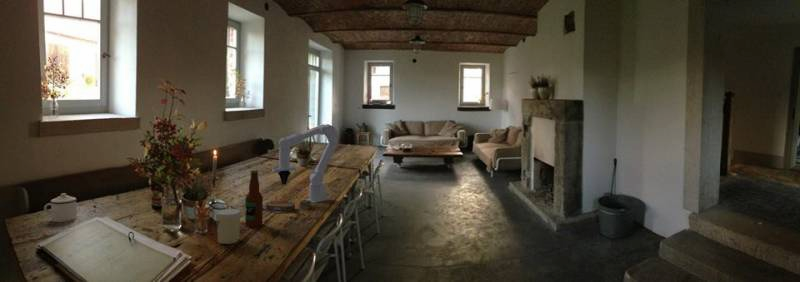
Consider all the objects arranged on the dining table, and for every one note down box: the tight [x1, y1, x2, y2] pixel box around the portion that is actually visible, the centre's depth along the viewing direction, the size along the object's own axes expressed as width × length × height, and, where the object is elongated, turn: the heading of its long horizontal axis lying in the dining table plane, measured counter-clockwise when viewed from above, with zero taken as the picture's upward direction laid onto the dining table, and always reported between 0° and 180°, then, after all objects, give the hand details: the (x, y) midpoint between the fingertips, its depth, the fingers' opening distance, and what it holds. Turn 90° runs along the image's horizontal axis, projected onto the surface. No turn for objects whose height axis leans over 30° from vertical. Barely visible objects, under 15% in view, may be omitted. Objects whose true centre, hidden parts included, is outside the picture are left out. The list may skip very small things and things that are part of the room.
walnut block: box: [299, 199, 312, 211], centre depth 223 cm, size 4×4×4 cm
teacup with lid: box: [43, 192, 78, 223], centre depth 186 cm, size 12×9×12 cm
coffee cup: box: [215, 208, 242, 245], centre depth 170 cm, size 9×9×12 cm
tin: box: [265, 200, 296, 212], centre depth 218 cm, size 15×3×8 cm
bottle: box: [244, 169, 264, 228], centre depth 190 cm, size 7×7×25 cm
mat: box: [262, 204, 291, 215], centre depth 219 cm, size 8×18×1 cm, turn 50°
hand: (283, 184), depth 232 cm, fingers closed
